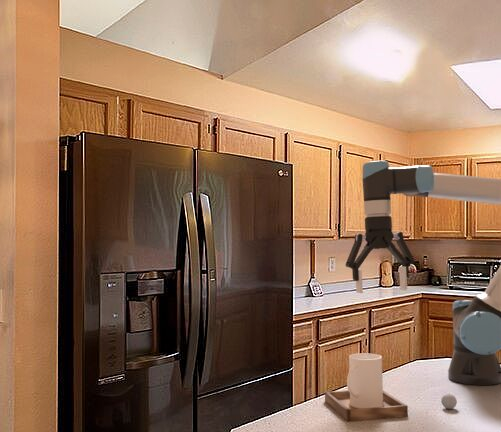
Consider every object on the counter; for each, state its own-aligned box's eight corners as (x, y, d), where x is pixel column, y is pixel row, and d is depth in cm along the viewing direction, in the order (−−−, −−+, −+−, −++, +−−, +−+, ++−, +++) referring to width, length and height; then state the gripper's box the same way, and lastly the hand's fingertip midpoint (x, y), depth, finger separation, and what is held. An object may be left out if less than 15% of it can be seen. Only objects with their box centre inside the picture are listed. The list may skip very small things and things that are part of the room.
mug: (360, 414, 143) (358, 363, 144) (333, 407, 150) (332, 358, 150) (391, 404, 151) (389, 356, 151) (364, 398, 157) (363, 351, 158)
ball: (452, 406, 152) (451, 391, 152) (459, 410, 148) (459, 395, 148) (438, 407, 151) (438, 392, 151) (446, 411, 147) (445, 396, 147)
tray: (379, 397, 160) (379, 388, 160) (407, 416, 144) (407, 405, 144) (325, 401, 158) (324, 392, 158) (347, 421, 141) (347, 410, 141)
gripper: (411, 215, 179) (414, 287, 178) (331, 218, 173) (335, 292, 172) (424, 213, 172) (428, 289, 171) (342, 216, 166) (346, 295, 165)
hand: (381, 291), depth 172 cm, fingers open, 13 cm apart
